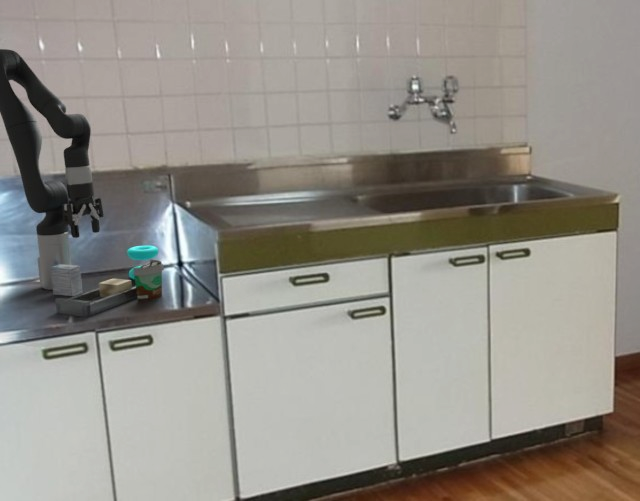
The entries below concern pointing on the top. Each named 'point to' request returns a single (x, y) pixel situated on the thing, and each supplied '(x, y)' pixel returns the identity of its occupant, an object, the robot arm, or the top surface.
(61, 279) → the medicine box
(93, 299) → the chute
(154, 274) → the food container
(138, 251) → the donuts
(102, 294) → the beech block
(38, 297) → the top surface
